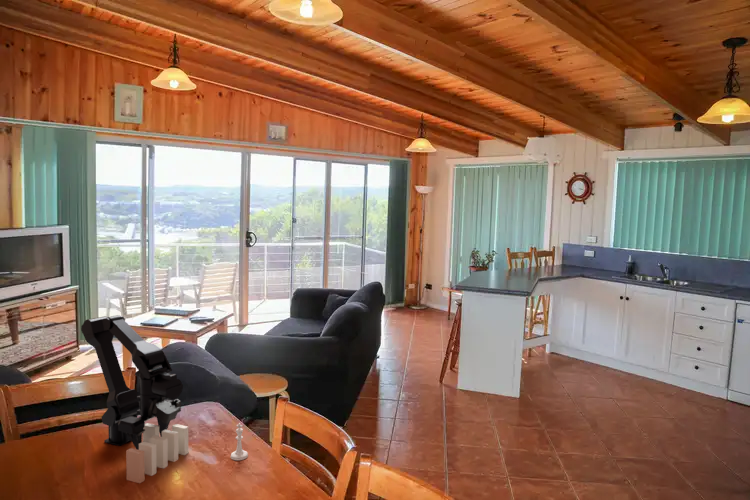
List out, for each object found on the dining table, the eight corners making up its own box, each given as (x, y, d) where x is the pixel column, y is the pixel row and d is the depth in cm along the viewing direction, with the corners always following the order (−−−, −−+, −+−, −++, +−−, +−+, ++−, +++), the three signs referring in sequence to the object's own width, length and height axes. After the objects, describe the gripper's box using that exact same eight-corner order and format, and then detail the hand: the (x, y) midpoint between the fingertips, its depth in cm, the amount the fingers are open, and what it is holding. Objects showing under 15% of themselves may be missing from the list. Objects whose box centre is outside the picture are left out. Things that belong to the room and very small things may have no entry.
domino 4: (150, 465, 146) (150, 437, 145) (155, 462, 147) (154, 435, 146) (163, 468, 144) (163, 440, 143) (167, 465, 146) (167, 438, 145)
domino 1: (126, 479, 138) (126, 450, 137) (131, 476, 139) (131, 447, 139) (139, 483, 136) (139, 453, 136) (144, 480, 138) (144, 451, 137)
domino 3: (139, 472, 142) (138, 443, 141) (143, 469, 143) (143, 441, 143) (152, 475, 140) (151, 446, 139) (156, 472, 142) (156, 444, 141)
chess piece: (243, 461, 149) (243, 427, 148) (227, 459, 150) (227, 425, 149) (250, 453, 154) (251, 420, 153) (235, 451, 155) (235, 418, 154)
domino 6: (172, 452, 153) (172, 425, 153) (176, 450, 155) (175, 423, 154) (184, 455, 152) (184, 428, 151) (188, 452, 153) (188, 426, 153)
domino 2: (143, 451, 154) (143, 425, 153) (147, 449, 155) (147, 423, 154) (155, 454, 152) (155, 427, 151) (159, 452, 153) (159, 425, 153)
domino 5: (161, 458, 150) (161, 431, 149) (165, 456, 151) (165, 429, 150) (174, 461, 148) (174, 434, 147) (178, 459, 149) (178, 432, 149)
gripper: (147, 407, 140) (148, 463, 142) (194, 386, 158) (194, 436, 159) (116, 401, 144) (117, 455, 146) (165, 380, 162) (165, 429, 163)
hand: (151, 443), depth 153 cm, fingers open, 9 cm apart
